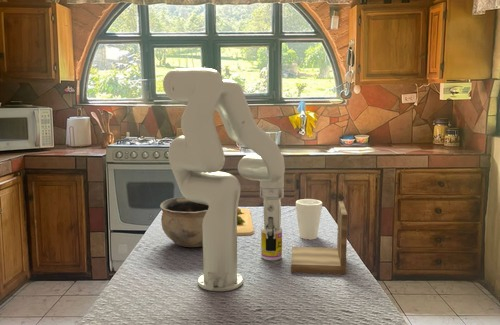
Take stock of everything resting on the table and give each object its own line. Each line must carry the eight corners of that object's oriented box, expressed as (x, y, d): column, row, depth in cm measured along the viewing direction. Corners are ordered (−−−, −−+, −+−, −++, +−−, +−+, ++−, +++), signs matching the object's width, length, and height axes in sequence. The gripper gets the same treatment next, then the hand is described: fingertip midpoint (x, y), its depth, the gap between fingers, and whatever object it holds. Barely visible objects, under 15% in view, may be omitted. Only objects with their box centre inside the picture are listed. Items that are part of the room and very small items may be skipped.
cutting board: (195, 213, 220) (195, 196, 219) (249, 212, 221) (249, 195, 220) (190, 237, 185) (189, 218, 184) (254, 236, 186) (253, 216, 185)
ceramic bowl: (235, 248, 172) (235, 205, 169) (174, 259, 161) (173, 213, 159) (208, 231, 191) (208, 192, 188) (153, 240, 180) (151, 199, 178)
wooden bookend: (345, 274, 148) (347, 214, 145) (290, 272, 150) (291, 213, 147) (341, 255, 164) (343, 201, 161) (292, 254, 166) (292, 200, 163)
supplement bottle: (279, 262, 158) (279, 222, 156) (259, 260, 160) (259, 220, 158) (283, 255, 165) (284, 216, 163) (263, 253, 166) (264, 215, 164)
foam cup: (291, 238, 182) (291, 203, 180) (301, 231, 190) (301, 198, 188) (316, 242, 178) (316, 206, 175) (325, 235, 186) (325, 200, 184)
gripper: (282, 198, 150) (282, 256, 153) (284, 186, 167) (284, 238, 170) (257, 198, 151) (257, 255, 154) (262, 186, 168) (262, 238, 171)
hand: (271, 246), depth 162 cm, fingers closed on supplement bottle, 6 cm apart
